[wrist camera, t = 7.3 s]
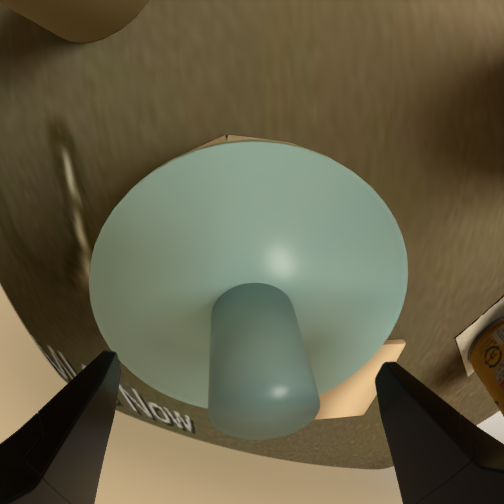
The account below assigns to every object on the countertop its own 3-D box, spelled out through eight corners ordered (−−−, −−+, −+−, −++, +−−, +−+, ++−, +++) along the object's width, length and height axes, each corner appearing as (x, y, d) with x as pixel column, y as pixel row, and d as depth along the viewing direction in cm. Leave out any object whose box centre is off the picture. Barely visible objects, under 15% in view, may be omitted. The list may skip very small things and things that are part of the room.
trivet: (403, 338, 21) (405, 343, 21) (361, 410, 25) (363, 414, 25) (287, 340, 20) (288, 345, 19) (265, 416, 24) (265, 421, 23)
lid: (436, 174, 11) (531, 229, 6) (347, 397, 17) (372, 473, 12) (87, 129, 9) (-10, 164, 4) (116, 388, 15) (96, 471, 10)
